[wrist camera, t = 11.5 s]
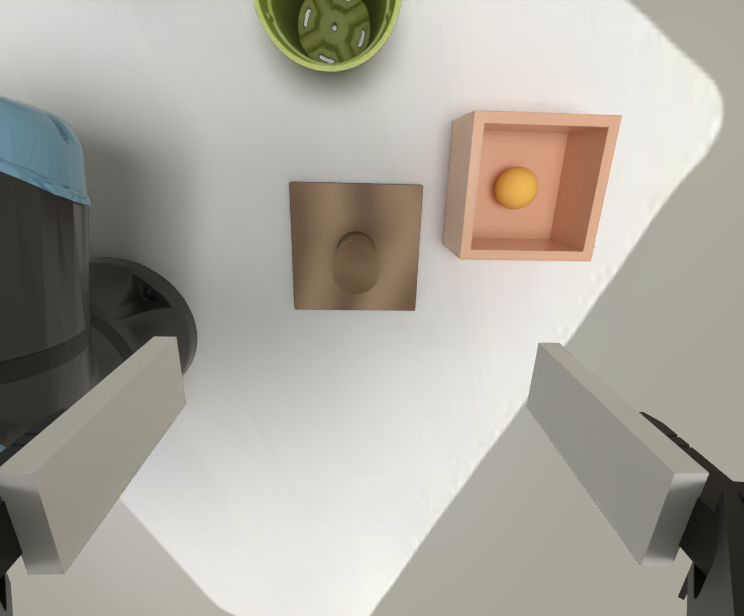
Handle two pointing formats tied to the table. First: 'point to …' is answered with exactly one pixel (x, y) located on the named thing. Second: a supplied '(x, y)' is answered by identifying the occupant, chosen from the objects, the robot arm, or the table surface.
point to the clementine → (516, 188)
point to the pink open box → (555, 184)
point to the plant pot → (328, 30)
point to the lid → (355, 245)
